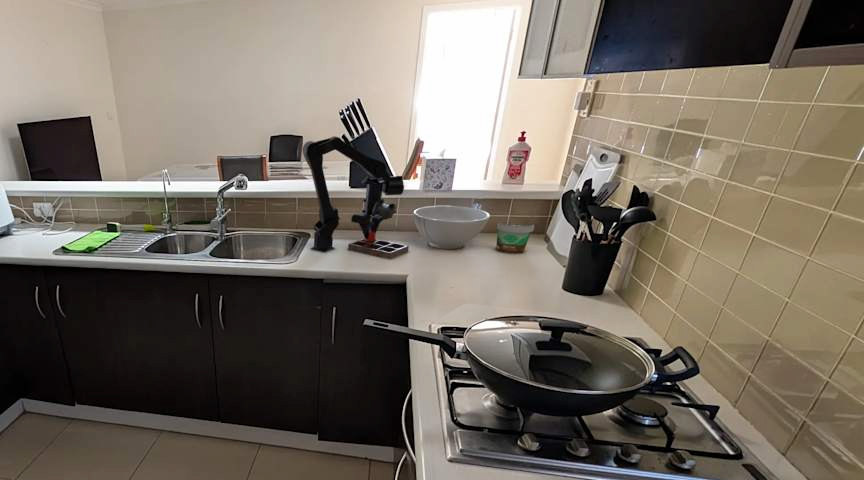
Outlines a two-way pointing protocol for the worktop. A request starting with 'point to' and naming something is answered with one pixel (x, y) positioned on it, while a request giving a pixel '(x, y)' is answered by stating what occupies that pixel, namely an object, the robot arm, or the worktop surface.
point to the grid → (378, 248)
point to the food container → (512, 238)
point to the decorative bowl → (449, 225)
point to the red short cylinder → (371, 236)
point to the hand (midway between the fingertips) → (369, 237)
